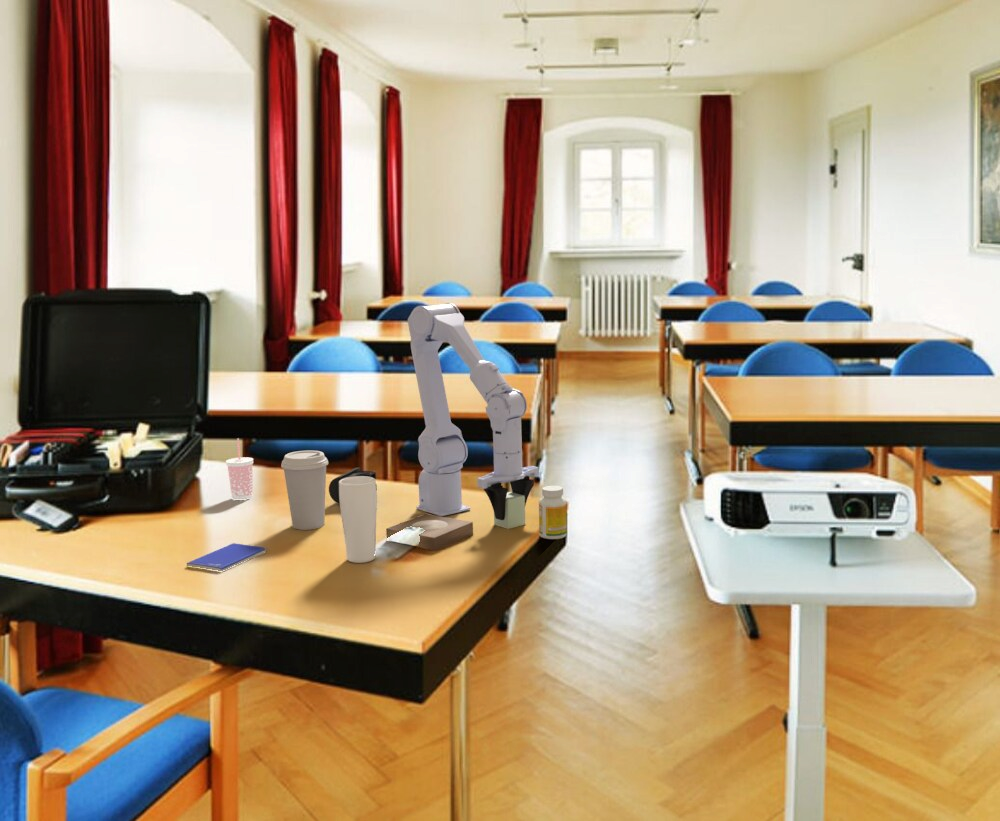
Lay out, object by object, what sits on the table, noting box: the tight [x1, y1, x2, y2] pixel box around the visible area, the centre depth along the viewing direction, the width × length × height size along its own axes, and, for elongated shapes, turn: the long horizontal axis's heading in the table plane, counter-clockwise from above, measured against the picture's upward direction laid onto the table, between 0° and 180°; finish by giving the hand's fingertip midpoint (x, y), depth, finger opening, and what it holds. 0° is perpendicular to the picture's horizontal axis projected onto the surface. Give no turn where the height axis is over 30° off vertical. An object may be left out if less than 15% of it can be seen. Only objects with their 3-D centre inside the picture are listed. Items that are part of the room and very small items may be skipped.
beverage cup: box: [225, 437, 254, 499], centre depth 233 cm, size 6×6×14 cm
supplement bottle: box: [538, 485, 568, 540], centre depth 198 cm, size 5×5×10 cm
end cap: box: [328, 467, 378, 506], centre depth 228 cm, size 10×7×7 cm
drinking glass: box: [339, 476, 378, 564], centre depth 186 cm, size 7×7×15 cm
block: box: [493, 491, 526, 530], centre depth 206 cm, size 4×4×6 cm
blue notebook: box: [186, 542, 267, 571], centre depth 190 cm, size 2×8×12 cm
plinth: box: [385, 513, 474, 551], centre depth 199 cm, size 12×12×2 cm
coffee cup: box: [280, 450, 329, 531], centre depth 209 cm, size 10×10×15 cm
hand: (509, 516), depth 207 cm, fingers closed on block, 4 cm apart
